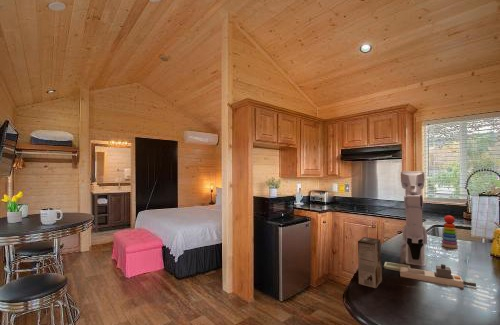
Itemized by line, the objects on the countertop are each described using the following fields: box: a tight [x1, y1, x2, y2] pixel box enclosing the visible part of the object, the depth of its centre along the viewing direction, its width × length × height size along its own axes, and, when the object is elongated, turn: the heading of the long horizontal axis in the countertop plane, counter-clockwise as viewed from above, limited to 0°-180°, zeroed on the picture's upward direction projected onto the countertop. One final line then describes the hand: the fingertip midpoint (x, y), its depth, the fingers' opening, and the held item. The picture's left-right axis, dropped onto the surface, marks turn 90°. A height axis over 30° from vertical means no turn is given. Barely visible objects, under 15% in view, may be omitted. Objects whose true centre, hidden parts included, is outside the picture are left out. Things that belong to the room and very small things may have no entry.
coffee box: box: [357, 236, 383, 289], centre depth 99 cm, size 9×6×16 cm
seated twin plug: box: [435, 263, 452, 279], centre depth 100 cm, size 4×4×6 cm
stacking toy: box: [441, 215, 459, 249], centre depth 157 cm, size 8×8×19 cm
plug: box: [408, 245, 422, 265], centre depth 105 cm, size 4×4×6 cm
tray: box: [383, 261, 411, 272], centre depth 115 cm, size 8×10×1 cm
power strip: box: [399, 267, 477, 289], centre depth 101 cm, size 7×24×3 cm, turn 58°
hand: (415, 257), depth 105 cm, fingers closed on plug, 4 cm apart
